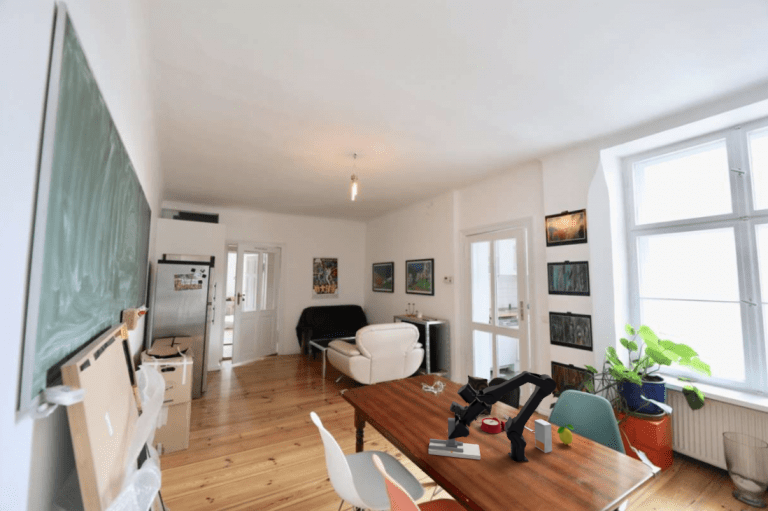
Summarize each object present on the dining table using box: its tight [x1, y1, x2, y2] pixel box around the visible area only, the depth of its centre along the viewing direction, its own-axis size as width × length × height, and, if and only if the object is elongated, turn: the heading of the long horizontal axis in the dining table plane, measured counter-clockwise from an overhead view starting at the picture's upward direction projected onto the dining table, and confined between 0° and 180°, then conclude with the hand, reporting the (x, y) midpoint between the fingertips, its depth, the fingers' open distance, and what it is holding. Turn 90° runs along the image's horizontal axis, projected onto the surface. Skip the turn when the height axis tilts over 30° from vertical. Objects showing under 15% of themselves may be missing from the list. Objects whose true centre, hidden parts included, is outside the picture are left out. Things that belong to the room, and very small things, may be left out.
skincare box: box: [533, 418, 553, 454], centre depth 150 cm, size 6×4×12 cm
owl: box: [467, 374, 493, 416], centre depth 194 cm, size 13×13×20 cm
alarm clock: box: [476, 416, 506, 434], centre depth 171 cm, size 10×6×15 cm
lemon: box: [557, 422, 575, 446], centre depth 155 cm, size 7×6×10 cm
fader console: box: [428, 438, 481, 461], centre depth 148 cm, size 22×10×3 cm, turn 78°
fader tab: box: [445, 417, 458, 448], centre depth 149 cm, size 5×4×12 cm
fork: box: [502, 413, 534, 432], centre depth 175 cm, size 3×24×2 cm, turn 25°
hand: (448, 433), depth 149 cm, fingers open, 9 cm apart
